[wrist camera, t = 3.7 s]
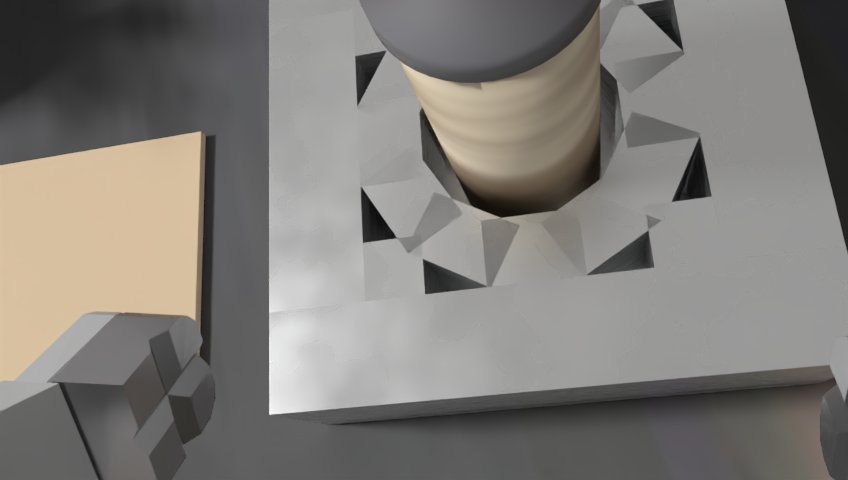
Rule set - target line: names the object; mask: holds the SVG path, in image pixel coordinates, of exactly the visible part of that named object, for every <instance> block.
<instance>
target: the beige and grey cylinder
mask: <svg viewBox="0 0 848 480" xmlns="http://www.w3.org/2000/svg"><path fill="white" fill-rule="evenodd" d="M359 2H360V4H361V6H362V8H363V10H364V13H365V14H366V16H367V18H368V20H369V22H370V24H371V26H372V28H373V30H374V32H375V34H376V35H377V37H378V38H379V40H380V41H381V43H382V44H383V45H384V46H385V47H386V49H387V50H388V51H389V52H390V53H391V54H392V55H393V56H394V57H396V58H397V59H398V60H399V61H400V63H401V65H402V67H403V69H404V71H405V73H406V75H407V77H408V79H409V81H410V83H411V85H412V87H413V89H414V91H415V93H416V95H417V97H418V100H419V102H420V104H421V106H422V108H423V110H424V112H425V114H426V116H427V118H428V120H429V122H430V124H431V126H432V128H433V130H434V132H435V134H436V136H437V138H438V140H439V142H440V144H441V146H442V148H443V150H444V152H445V154H446V156H447V158H448V160H449V162H450V164H451V166H452V168H453V170H454V172H455V174H456V176H457V178H458V180H459V182H460V184H461V187H462V189H463V191H464V193H465V195H466V197H467V199H468V201H469V203H470V204H471V206H472V207H474V208H477V209H479V210H482V211H485V212H487V213H490V214H492V215H495V216H497V217H500V218H505V217H512V216H520V215H527V214H535V213H542V212H549V211H557V210H558V209H560V208H561V207H563V206H564V205H565V204H567V203H568V202H569V201H571V200H572V199H574V198H575V197H576V196H578V195H579V194H581V193H582V192H583V191H585V190H586V189H588V188H589V187H590V186H592V185H593V184H594V183H596V182H597V181H599V180H600V171H601V140H600V2H601V0H359Z"/></svg>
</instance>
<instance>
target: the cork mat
mask: <svg viewBox="0 0 848 480" xmlns="http://www.w3.org/2000/svg"><path fill="white" fill-rule="evenodd" d="M205 146H206V135H204V134H203V133H202V132H195V133H189V134H183V135H178V136H172V137H166V138H160V139H154V140H148V141H142V142H136V143H130V144H124V145H118V146H113V147H107V148H101V149H95V150H89V151H83V152H77V153H71V154H65V155H59V156H53V157H48V158H42V159H36V160H30V161H24V162H18V163H12V164H6V165H0V382H1V381H4V380H8V381H14V380H15V379H16V378H17V377H18V376H19V375H20V374H21V373H22V372H23V371H25V370H26V369H27V368H28V367H29V366H30V365H31V364H32V363H33V362H34V361H35V360H36V359H37V358H38V357H39V356H40V355H41V354H42V353H43V352H44V351H45V350H46V349H47V348H48V347H50V346H51V345H52V344H53V343H54V342H55V341H56V340H57V339H58V338H59V337H60V336H61V335H62V334H63V333H64V332H65V331H66V330H67V329H68V328H69V327H70V326H71V325H72V324H74V323H75V322H76V321H77V320H78V319H79V318H80V317H81V316H82V315H83V314H86V313H90V312H94V311H101V312H121V313H125V312H129V313H148V314H167V315H186V316H189V317H190V318H192V319H193V320H195V321H197V324H198V327H199V330H200V326H201V290H202V254H203V218H204V182H205ZM197 354H198V355H199V356H200V348H199V350H198V352H197Z"/></svg>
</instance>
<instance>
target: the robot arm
mask: <svg viewBox="0 0 848 480" xmlns="http://www.w3.org/2000/svg"><path fill="white" fill-rule="evenodd" d="M202 343H203V339H202V336H201V333H200V330H199V327H198V324H197V321H195V320H193V319H192V318H190V317H189V316H186V315H167V314H148V313H129V312H125V313H121V312H101V311H94V312H90V313H86V314H83V315H82V316H81V317H80V318H79V319H78V320H77V321H76V322H75V323H74V324H72V325H71V326H70V327H69V328H68V329H67V330H66V331H65V332H64V333H63V334H62V335H61V336H60V337H59V338H58V339H57V340H56V341H55V342H54V343H53V344H52V345H51V346H50V347H48V348H47V349H46V350H45V351H44V352H43V353H42V354H41V355H40V356H39V357H38V358H37V359H36V360H35V361H34V362H33V363H32V364H31V365H30V366H29V367H28V368H27V369H26V370H25V371H23V372H22V373H21V374H20V375H19V376H18V377H17V378H16V379H15V380H14V381H8V380H4V381H1V382H0V480H172V478H173V477H174V475H175V474H176V472H177V471H178V469H179V468H180V466H181V464H182V463H183V461H184V460H185V458H186V454H185V450H184V444H185V443H187V442H188V441H190V440H192V439H193V438H195V437H196V436H198V435H200V434H201V433H202V431H203V430H204V428H205V426H206V425H207V423H208V421H209V420H210V418H211V414H212V410H213V406H214V402H215V381H214V377H213V374H212V370H211V367H210V366H209V365H208V364H207V363H206V362H205V361H204V360H203V359H202V358H201V357H200V356H199V355H198V354H197V352H198V350H199V348H200V346H201V344H202ZM829 365H830V368H831V370H832V373H833V375H834V377H835V380H836V382H837V384H836V385H835V386H834V387H833V388H831V389H830V390H829V391H828V392H827V393H825V394H824V395H823V401H822V407H821V414H820V441H821V446H822V451H823V456H824V460H825V463H826V466H827V469H828V472H829V475H830V476H831V477H832V478H834V479H835V480H848V336H838V338H837V340H836V342H835V344H834V346H833V349H832V354H831V359H830V363H829Z"/></svg>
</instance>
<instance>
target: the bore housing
mask: <svg viewBox="0 0 848 480" xmlns="http://www.w3.org/2000/svg"><path fill="white" fill-rule="evenodd" d="M600 140H601V171H600V180H599V181H597V182H596V183H594V184H593V185H592V186H590V187H589V188H588V189H586V190H585V191H583V192H582V193H581V194H579V195H578V196H576V197H575V198H574V199H572V200H571V201H569V202H568V203H567V204H565V205H564V206H563V207H561V208H560V209H558V210H557V211H549V212H542V213H535V214H527V215H520V216H512V217H505V218H500V217H497V216H495V215H492V214H490V213H487V212H485V211H482V210H479V209H477V208H474V207H472V206H471V204H470V203H469V201H468V199H467V197H466V195H465V193H464V191H463V189H462V187H461V184H460V182H459V180H458V178H457V176H456V174H455V172H454V170H453V168H452V166H451V164H450V162H449V160H448V158H447V156H446V154H445V152H444V150H443V148H442V146H441V144H440V142H439V140H438V138H437V136H436V134H435V132H434V130H433V128H432V126H431V124H430V122H429V120H428V118H427V116H426V114H425V112H424V110H423V108H422V106H421V104H420V102H419V100H418V97H417V95H416V93H415V91H414V89H413V87H412V85H411V83H410V81H409V79H408V77H407V75H406V73H405V71H404V69H403V67H402V65H401V63H400V61H399V60H398V59H397V58H396V57H394V56H393V55H392V54H391V53H390V52H389V51H388V50H387V49H386V47H385V46H384V45H383V44H382V43H381V41H380V40H379V38H378V37H377V35H376V34H375V32H374V30H373V28H372V26H371V24H370V22H369V20H368V18H367V16H366V14H365V13H364V10H363V8H362V6H361V4H360V2H359V0H269V415H274V416H280V417H286V418H291V419H297V420H303V421H309V422H315V423H321V424H326V425H332V424H344V423H356V422H368V421H379V420H391V419H403V418H415V417H427V416H438V415H450V414H462V413H474V412H485V411H497V410H509V409H521V408H533V407H544V406H556V405H568V404H580V403H591V402H603V401H615V400H627V399H639V398H650V397H662V396H674V395H686V394H697V393H709V392H721V391H733V390H745V389H756V388H768V387H780V386H792V385H803V384H815V383H821V382H824V381H826V380H829V379H831V378H834V375H833V373H832V370H831V368H830V365H829V363H830V359H831V354H832V349H833V346H834V344H835V342H836V340H837V338H838V336H848V253H847V249H846V245H845V241H844V237H843V233H842V229H841V225H840V221H839V217H838V213H837V209H836V205H835V200H834V196H833V192H832V188H831V184H830V180H829V176H828V172H827V168H826V164H825V160H824V156H823V152H822V148H821V144H820V140H819V136H818V132H817V128H816V124H815V120H814V116H813V112H812V108H811V104H810V100H809V96H808V92H807V88H806V84H805V80H804V76H803V72H802V68H801V63H800V59H799V55H798V51H797V47H796V43H795V39H794V35H793V31H792V27H791V23H790V19H789V15H788V11H787V7H786V3H785V0H601V2H600Z"/></svg>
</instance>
